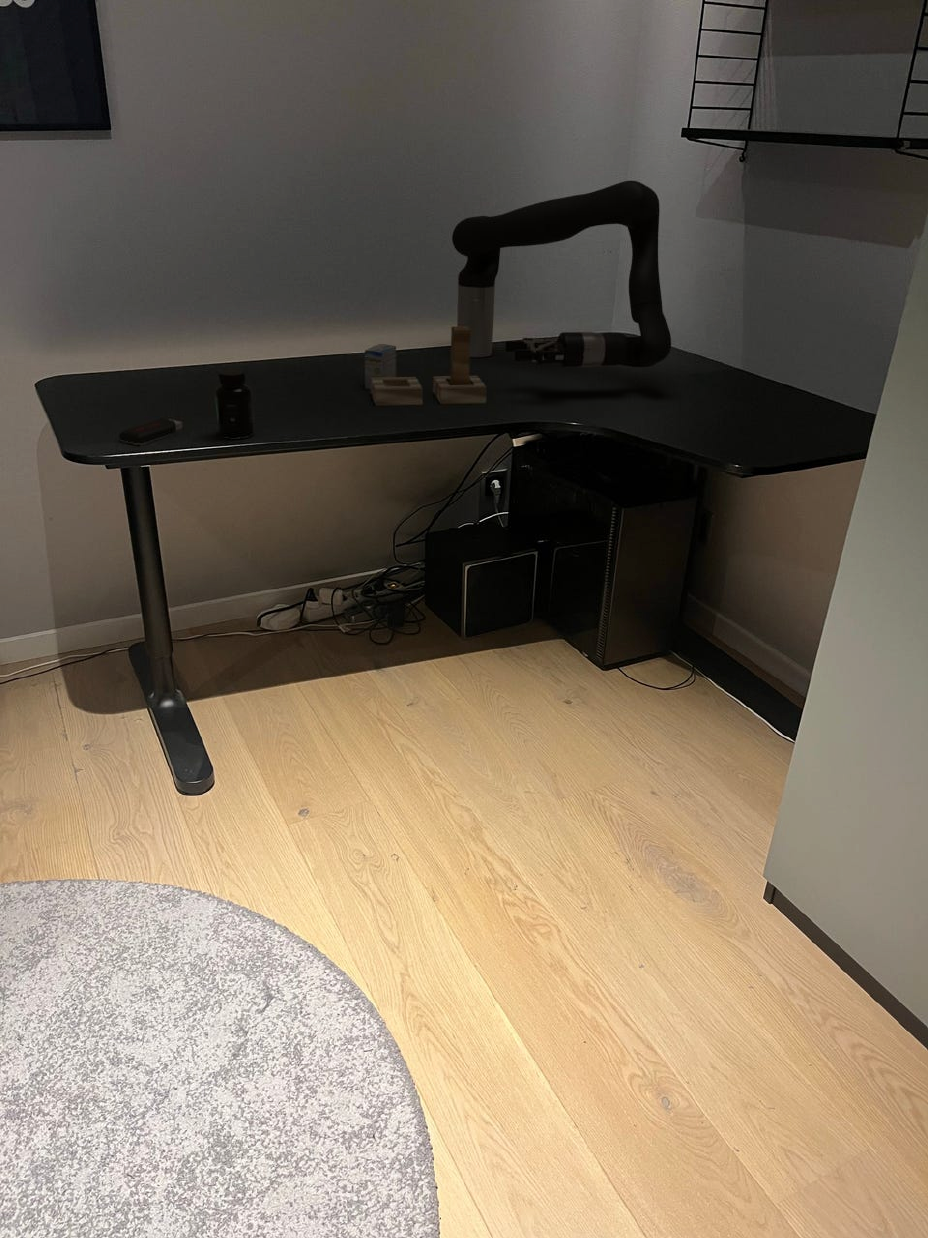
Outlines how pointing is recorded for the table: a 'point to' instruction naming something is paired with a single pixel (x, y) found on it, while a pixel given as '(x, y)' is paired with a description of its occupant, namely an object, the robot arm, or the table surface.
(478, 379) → the end cap
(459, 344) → the tall brown wooden block
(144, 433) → the usb drive
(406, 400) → the end cap
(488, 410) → the table surface
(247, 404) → the supplement bottle
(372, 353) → the medicine box
